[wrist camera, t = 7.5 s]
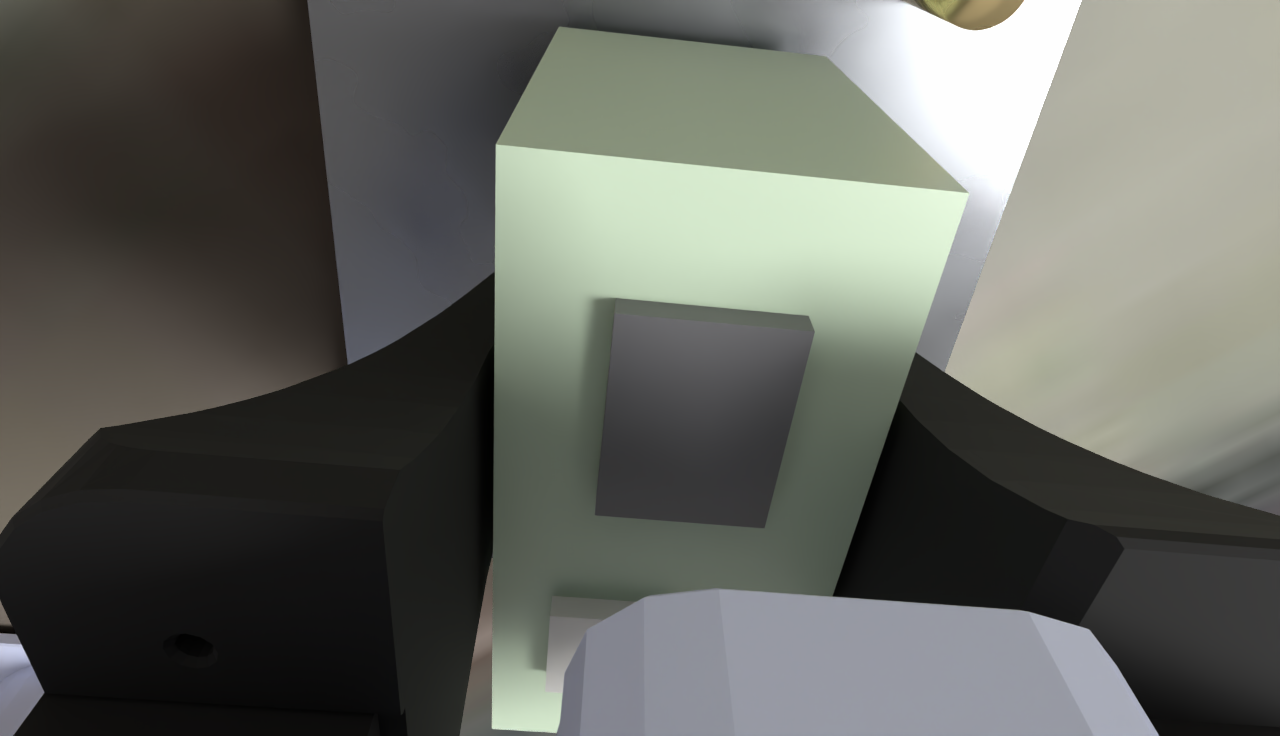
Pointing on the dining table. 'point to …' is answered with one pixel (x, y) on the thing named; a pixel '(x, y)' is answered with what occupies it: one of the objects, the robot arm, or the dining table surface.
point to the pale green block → (691, 332)
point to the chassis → (656, 7)
